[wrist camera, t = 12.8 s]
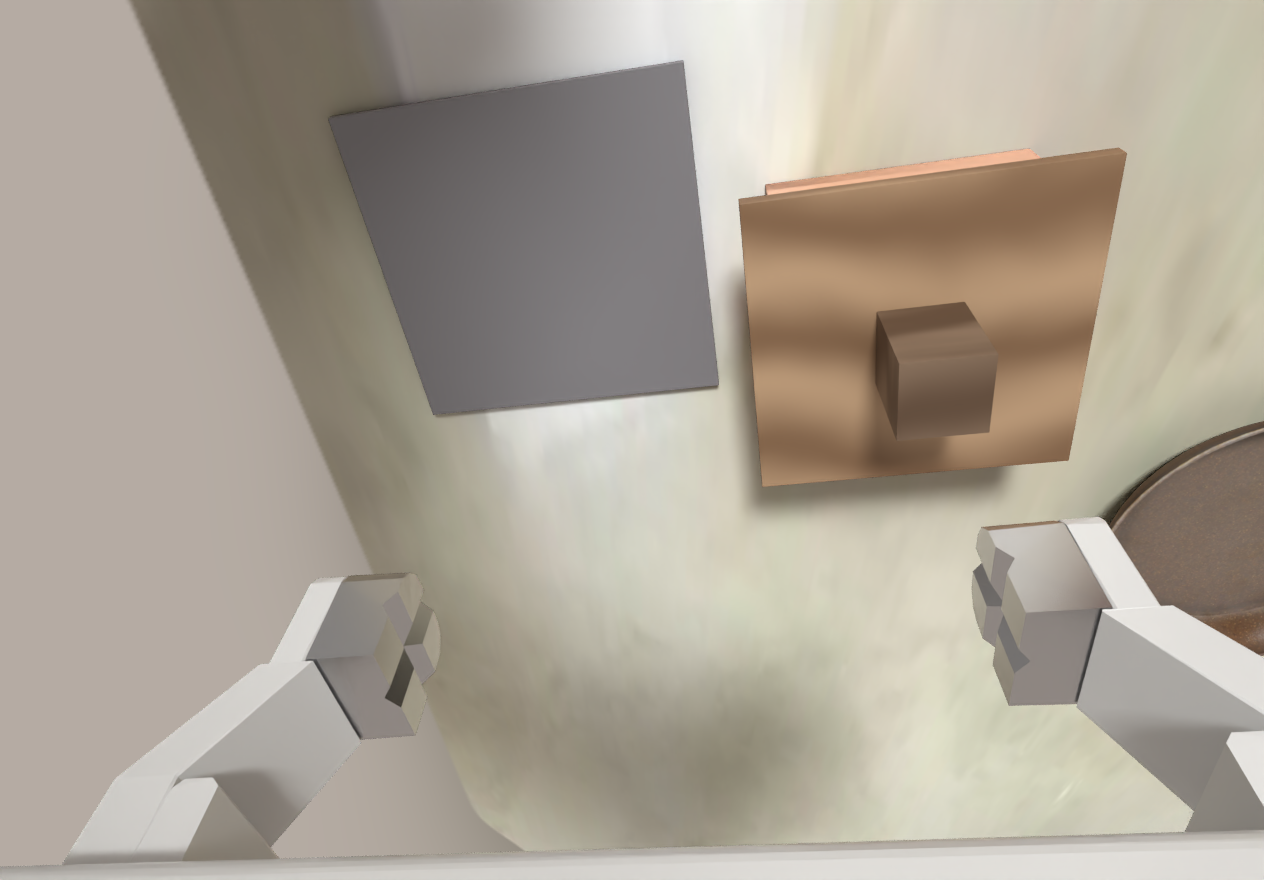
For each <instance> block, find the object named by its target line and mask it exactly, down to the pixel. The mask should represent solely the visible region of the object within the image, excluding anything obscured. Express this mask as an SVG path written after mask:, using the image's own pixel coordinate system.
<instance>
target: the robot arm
mask: <svg viewBox="0 0 1264 880" xmlns="http://www.w3.org/2000/svg"><path fill="white" fill-rule="evenodd" d="M976 550H977V552H978V555H979V557H980V559H981V562H982V563H981V564H980V565H979V566H978V567H977V568H976V569H975V570H974V571H973V577H972V600H973V609H974V613H975V617H976V621H977V624H978V627H979V630H980V633H981V635H982V638H983V639H985V640H986V641H987V642H989V643H990V644H991V645H993V646H994V647H995V652H994V659H993V667H994V669H995V672H996V674H997V677H998V679H999V682H1000V685H1001V687H1002V690H1003V692H1004V695H1005V697H1006V700H1007V702H1008V705H1009V706H1015V705H1055V704H1077V708H1078V709H1079V710H1080V711H1081V712H1083V713H1084V714H1085V715H1086V716H1087V717H1088V718H1089V719H1091V720H1092V721H1093V722H1094V723H1095V724H1096V725H1097V726H1098V727H1100V728H1101V729H1102V730H1103V731H1104V732H1105V733H1106V734H1108V735H1109V736H1110V737H1111V738H1112V739H1113V740H1114V741H1115V742H1117V743H1118V744H1119V745H1120V746H1121V747H1122V748H1123V749H1124V750H1126V751H1127V752H1128V753H1129V754H1130V755H1131V756H1132V757H1134V758H1135V759H1136V760H1137V761H1138V762H1139V763H1140V764H1141V765H1143V766H1144V767H1145V768H1146V769H1147V770H1148V771H1149V772H1151V773H1152V774H1153V775H1154V776H1155V777H1156V778H1157V779H1158V780H1160V781H1161V782H1162V783H1163V784H1164V785H1165V786H1166V787H1167V788H1169V789H1170V790H1171V791H1172V792H1173V793H1174V794H1175V795H1177V796H1178V797H1179V798H1180V799H1181V800H1182V801H1183V802H1184V803H1186V804H1187V805H1188V806H1189V807H1190V808H1191V809H1192V810H1194V813H1193V815H1192V817H1191V819H1190V822H1189V824H1188V826H1187V828H1186V830H1185V832H1168V833H1134V834H1100V835H1065V836H1031V837H997V838H962V839H929V840H897V841H864V842H831V843H798V844H765V845H732V846H698V847H663V848H628V849H593V850H558V851H523V852H492V853H491V852H490V853H455V854H421V855H387V856H354V857H353V856H351V857H317V858H283V859H280V858H279V857H278V856H277V855H276V853H275V852H274V851H273V850H272V849H271V846H272V845H273V844H274V843H275V842H276V841H277V839H278V838H279V837H280V836H281V835H282V834H283V833H284V831H285V830H286V829H287V828H288V827H289V826H290V824H291V823H292V822H293V821H294V820H295V819H296V817H297V816H298V815H299V814H300V813H301V812H302V811H303V809H304V808H305V807H306V806H307V805H308V804H309V803H310V802H311V800H312V799H313V798H314V797H315V796H316V795H317V793H318V792H319V791H320V790H321V789H322V788H323V787H324V785H325V784H326V783H327V782H328V781H329V780H330V779H331V777H332V776H333V775H334V774H335V773H336V772H337V770H338V769H339V768H340V767H341V766H342V764H344V762H345V761H346V760H347V759H348V758H349V757H350V755H351V754H352V753H353V752H354V751H355V750H356V749H357V747H358V746H359V745H360V744H361V740H363V739H376V738H388V737H400V736H413V735H416V732H417V729H418V726H419V723H420V719H421V716H422V713H423V710H424V706H425V703H426V700H427V697H428V696H427V694H426V692H425V690H424V688H423V686H422V684H423V683H424V682H425V681H426V680H427V679H428V678H429V677H430V676H431V675H432V674H433V673H434V672H435V671H436V667H437V663H438V660H439V656H440V641H441V635H440V629H439V624H438V620H437V618H436V616H435V613H434V611H433V610H432V609H431V608H429V607H428V606H426V605H425V604H423V603H422V602H420V601H421V598H422V595H423V592H424V588H423V586H422V584H421V582H420V580H419V578H418V576H417V575H416V574H413V573H392V574H374V575H356V576H348V577H330V578H318V579H317V580H315V581H314V582H313V583H311V584H310V586H309V587H308V589H307V591H306V593H305V595H304V597H303V599H302V601H301V603H300V605H299V607H298V609H297V611H296V613H295V614H294V616H293V618H292V620H291V622H290V624H289V626H288V628H287V630H286V632H285V634H284V636H283V637H282V639H281V642H280V643H279V645H278V647H277V649H276V651H275V653H274V655H273V657H272V659H271V661H270V663H268V664H259V665H258V666H257V667H256V668H254V669H253V670H252V671H251V672H249V673H248V674H247V675H245V676H244V677H243V678H242V679H240V680H239V681H238V682H237V683H236V684H234V685H233V686H232V687H230V688H229V689H228V690H227V691H225V692H224V693H223V694H221V695H220V696H219V697H218V698H216V699H215V700H214V701H213V702H211V703H210V704H209V705H208V706H206V707H205V708H204V709H202V710H201V711H200V712H199V713H197V714H196V715H195V716H194V717H192V718H191V719H190V720H189V721H187V722H186V723H185V724H184V725H182V726H181V727H180V728H179V729H177V730H176V731H175V732H173V733H172V734H171V735H170V736H168V737H167V738H166V739H165V740H163V741H162V742H161V743H160V744H158V745H157V746H156V747H155V748H153V749H152V750H151V751H150V752H148V753H147V754H146V755H144V756H143V757H142V758H141V759H139V760H138V761H137V762H136V763H134V764H133V765H132V766H131V767H129V768H128V769H127V770H126V771H124V772H123V773H122V774H120V775H119V776H118V777H117V778H116V779H115V780H114V781H113V783H112V784H111V786H110V788H109V789H108V791H107V793H106V794H105V796H104V797H103V799H102V801H101V803H100V804H99V805H98V807H97V809H96V810H95V812H94V813H93V815H92V817H91V819H90V820H89V822H88V823H87V825H86V826H85V828H84V830H83V831H82V833H81V834H80V836H79V838H78V839H77V841H76V843H75V844H74V846H73V847H72V849H71V851H70V852H69V854H68V855H67V857H66V859H65V860H64V862H63V864H62V865H42V866H41V865H40V866H6V867H0V880H1264V658H1263V657H1261V656H1260V655H1258V654H1256V653H1255V652H1253V651H1251V650H1249V649H1248V648H1246V647H1244V646H1242V645H1241V644H1239V643H1237V642H1236V641H1234V640H1232V639H1230V638H1229V637H1227V636H1225V635H1223V634H1222V633H1220V632H1218V631H1216V630H1215V629H1213V628H1211V627H1210V626H1208V625H1206V624H1204V623H1203V622H1201V621H1199V620H1197V619H1196V618H1194V617H1192V616H1191V615H1189V614H1187V613H1185V612H1184V611H1182V610H1180V609H1178V608H1177V607H1175V606H1173V605H1171V606H1160V604H1159V603H1158V601H1157V600H1156V598H1155V596H1154V595H1153V593H1152V592H1151V590H1150V589H1149V587H1148V586H1147V584H1146V583H1145V581H1144V579H1143V578H1142V576H1141V575H1140V573H1139V572H1138V570H1137V569H1136V567H1135V566H1134V564H1133V563H1132V561H1131V559H1130V558H1129V556H1128V555H1127V553H1126V552H1125V550H1124V549H1123V547H1122V546H1121V544H1120V542H1119V541H1118V539H1117V538H1116V536H1115V535H1114V533H1113V532H1112V530H1111V529H1110V527H1109V526H1108V524H1107V522H1106V521H1105V520H1103V519H1101V518H1100V517H1088V518H1077V519H1066V520H1059V521H1046V522H1035V523H1023V524H1012V525H1001V526H989V527H981V529H980V531H979V533H978V537H977V544H976Z"/></svg>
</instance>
